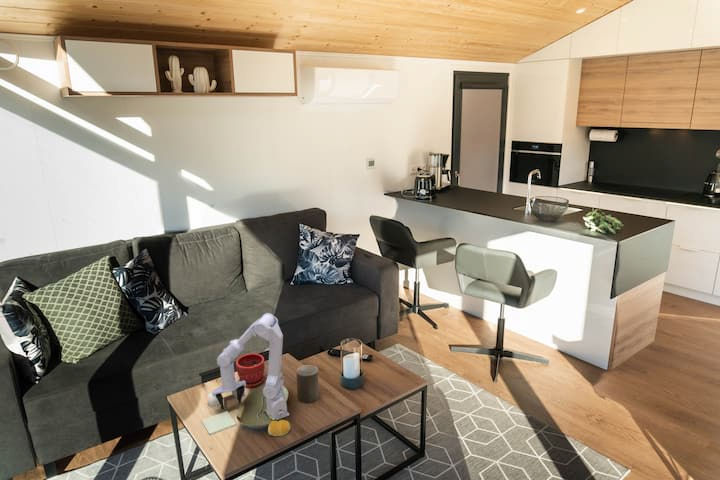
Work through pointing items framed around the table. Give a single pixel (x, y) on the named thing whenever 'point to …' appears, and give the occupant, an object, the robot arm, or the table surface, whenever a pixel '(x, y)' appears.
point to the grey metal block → (236, 393)
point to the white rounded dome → (212, 400)
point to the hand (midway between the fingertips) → (230, 405)
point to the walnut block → (230, 403)
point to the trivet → (218, 422)
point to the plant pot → (251, 369)
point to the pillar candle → (307, 384)
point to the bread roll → (278, 428)
